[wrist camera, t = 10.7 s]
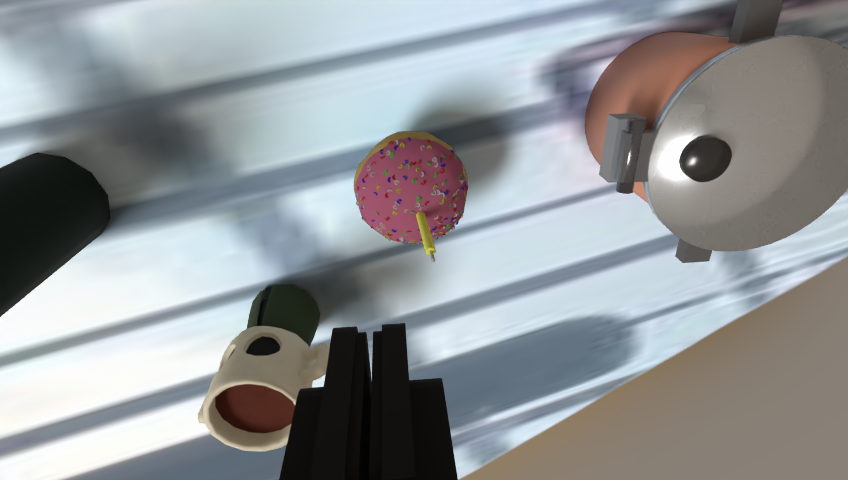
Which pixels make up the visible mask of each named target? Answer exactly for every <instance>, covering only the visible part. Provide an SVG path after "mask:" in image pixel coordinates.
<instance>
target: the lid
mask: <svg viewBox="0 0 848 480" xmlns="http://www.w3.org/2000/svg"><path fill="white" fill-rule="evenodd" d="M645 124H646V119H643V118H628V120H627V126H626V130H622V133H621V139H620V145H619V151H618V157H617V163H616V169H615V175H614V178H615V179H616V180H617V185H616V191H617V192H620V193H625V194H629V193H632V192H633V189H634V183H635V182H643V188H644V193H645V196H646V199H647V202H648V204H649V206H650V208H651V209H652V211H653V213H654V214H655V215H656V217H657V218H658V219H659V221H660V222H661V223H662V224H664V225H665V226H666V227H667V228H668V229H669V230H670V231H671V232H672V233H673V234H674V235H676V236H677V237H679V238H680V239H682V240H683V241H685V242H687V243H689V244H692V245H694V246H697V247H700V248H704V249H708V250H714V251H741V250H748V249H753V248H758V247H761V246H765V245H768V244H771V243H774V242H776V241H779V240H781V239H783V238H786V237H788V236H790V235H791V234H793V233H795V232H797V231H799V230H801V229H802V228H804V227H805V226H807V225H808V224H810V223H812V222H813V221H814V220H815V219H817V218H818V217H819V216H821V215H822V214H823V213H824V212H825V211H827V210H828V209H829V208H830V207H831V206H832V205H833V204H834V203H835V202H836V201H837V200H838V199H839V198H840V197H841V196H842V195H843V194H844V192H845V191H846V190H847V189H848V49H846V48H845V47H843V46H841V45H839V44H837V43H834V42H832V41H829V40H826V39H821V38H816V37H810V36H800V35H776V36H767V37H763V38H759V39H754V40H751V41H748V42H745V43H742V44H740V45H737V46H735V47H733V48H731V49H728V50H726V51H724V52H722V53H720V54H719V55H717V56H716V57H714V58H713V59H711V60H709V61H708V62H706V63H705V64H704V65H702V66H701V67H700V68H699V69H697V70H696V71H695V72H693V73H692V74H691V75H690V76H689V77H688V78H687V79H686V80H685V81H684V82H683V83H682V84H681V85H680V86H679V87H678V88H677V89H676V91H675V92H674V93H673V94H672V95H671V97H670V98H669V99H668V100H667V102H666V103H665V105H664V106H663V108H662V109H661V111H660V112H659V114H658V116H657V118H656V120H655V122H654V124H653V126H652V128H651V129H646V130H645Z"/></svg>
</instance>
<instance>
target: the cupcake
mask: <svg viewBox="0 0 848 480" xmlns="http://www.w3.org/2000/svg"><path fill="white" fill-rule="evenodd" d="M467 190H468V184H467V174H466V171H465V168H464V166H463V164H462V162H461V160H460V159H459V158H458V156H457V155H456V153H455V151H454V149H453V148H452V147H451V146H449V145H448V144H446V143H445V142H443V141H441V140H439V139H438V138H436V137H435V136H433V135H431V134H429V133H426V132H397V133H394V134H392V135H390V136H388V137H386V138H385V139H383V140H382V141H381V142H379V143H378V144H377V145H376V146H375V147H374V148H373V149H372V150H371V152H370V153H369V154H368V155H367V156H366V158H365V159H364V160H363V161H362V162H361V163H360V164H359V166H358V168H357V171H356V174H355V178H354V191H355V196H356V199H357V202H356V204H357V203H358V204H357V205H358V206H359V209H360V212H361V215H362V219H363V220H364V221H365V222H366V223H367V224H368V225H370V226H371V228H373V229H375V230H376V231H377V232H379V233H380V234H382V235H383V236H385V238H387V239H388V240H390V239H391V240H394V241H397V242H402V243H418V244H421V243H423V244H424V248H425V252H426V254H427V255H429V256H431V259H432V261H433V262H435V258H434V254H435V252H436V250H435V247H434V243H433V240H432V239H434V240H436V239H437V238H438V237H440V236H441V237H442V235H446V234H445V233H448V232H449V230H450V229H451V230H454V229H455V226H454V225H455V224H456V225H457V224H458V221H459V219H460V218H462V217H463V213H464V206H465V201H466V195H467ZM453 228H454V229H453Z"/></svg>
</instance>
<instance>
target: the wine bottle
mask: <svg viewBox="0 0 848 480" xmlns="http://www.w3.org/2000/svg"><path fill="white" fill-rule="evenodd" d="M109 219H110V211H109V202H108V195H107V194H106V192H105V191H104V190H103V188H102V187H101V185H100V184H99V183H98V181H97V180H96V179H95V177H94V176H93V174H92V173H91V172H89V171H87V170H86V169H84V168H82V167H81V166H79V165H77V164H76V163H74V162H72V161H71V160H69V159H67V158H66V157H61V156H54V155H47V154H40V153H35V154H32V155H30V156H27V157H25V158H22V159H20V160H17V161H15V162H12V163H10V164H8V165H6V166H4V167H1V168H0V317H1V316H2V315H3V314H4V313H5V312H7V311H8V310H9V309H10V308H12V307H13V306H14V305H15V304H16V303H18V302H19V301H20V300H21V299H23V298H24V297H25V296H26V295H27V294H29V293H30V292H31V291H32V290H33V289H35V288H36V287H37V286H38V285H40V284H41V283H42V282H43V281H44V280H46V279H47V278H48V277H49V276H51V275H52V274H53V273H54V272H55V271H57V270H58V269H59V268H60V267H62V266H63V265H64V264H65V263H66V262H68V261H69V260H70V259H71V258H72V257H74V256H75V255H76V254H77V253H79V252H80V251H81V250H82V249H83V248H85V247H86V246H87V245H88V244H90V243H91V242H92V241H93V240H94V239H96V238H97V237H98V236H99V235H100V234H101V232H102V231H103V229H104V227H105V226H106V224H107V223H108V221H109Z"/></svg>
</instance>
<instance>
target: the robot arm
mask: <svg viewBox="0 0 848 480" xmlns="http://www.w3.org/2000/svg"><path fill="white" fill-rule="evenodd" d="M279 480H458V479H457V472H456V466H455V459H454V453H453V446H452V440H451V433H450V427H449V420H448V414H447V407H446V401H445V395H444V388H443V382H442V378H436V379H423V380H409V374H408V359H407V344H406V329H405V323H401V324H386V325H382V331H375V332H373V357H372V381H371V371H370V361H369V351H368V342H367V333H366V332H361V333H358V329H357V327H342V328H333V330H332V336H331V343H330V349H329V356H328V363H327V369H326V376H325V382H324V387H316V388H303V389H300V390H299V392H298V396H297V400H296V404H295V409H294V414H293V418H292V423H291V428H290V432H289V437H288V442H287V446H286V451H285V456H284V460H283V465H282V469H281V474H280V479H279Z"/></svg>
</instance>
